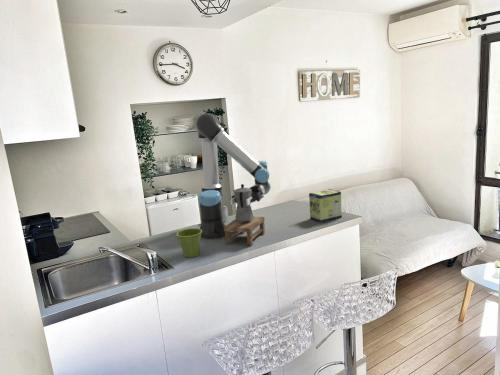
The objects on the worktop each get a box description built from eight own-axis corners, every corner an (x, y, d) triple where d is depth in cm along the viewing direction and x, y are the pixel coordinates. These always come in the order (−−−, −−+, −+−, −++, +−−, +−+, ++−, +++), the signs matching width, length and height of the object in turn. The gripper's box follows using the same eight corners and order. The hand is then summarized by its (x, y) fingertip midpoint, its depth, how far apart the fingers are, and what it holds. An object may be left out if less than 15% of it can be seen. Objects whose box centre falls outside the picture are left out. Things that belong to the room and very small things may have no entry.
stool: (225, 244, 189) (223, 227, 187) (241, 232, 207) (239, 216, 205) (251, 246, 184) (250, 228, 182) (265, 233, 202) (264, 216, 200)
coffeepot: (237, 215, 201) (234, 181, 197) (254, 214, 200) (252, 181, 196) (233, 224, 186) (230, 188, 182) (252, 223, 185) (250, 187, 181)
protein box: (309, 219, 222) (308, 193, 219) (330, 214, 229) (329, 188, 226) (321, 222, 213) (319, 195, 210) (342, 217, 220) (341, 191, 217)
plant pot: (180, 251, 184) (177, 229, 182) (204, 249, 185) (202, 227, 182) (177, 261, 172) (174, 237, 170) (203, 258, 173) (201, 234, 171)
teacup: (220, 224, 225) (219, 211, 223) (207, 222, 232) (205, 209, 230) (235, 218, 236) (234, 205, 234) (222, 216, 242) (221, 204, 241)
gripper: (274, 199, 205) (259, 210, 184) (239, 198, 212) (221, 209, 192) (273, 185, 203) (258, 195, 183) (237, 185, 211) (219, 194, 190)
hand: (239, 202), depth 187 cm, fingers closed on coffeepot, 8 cm apart
